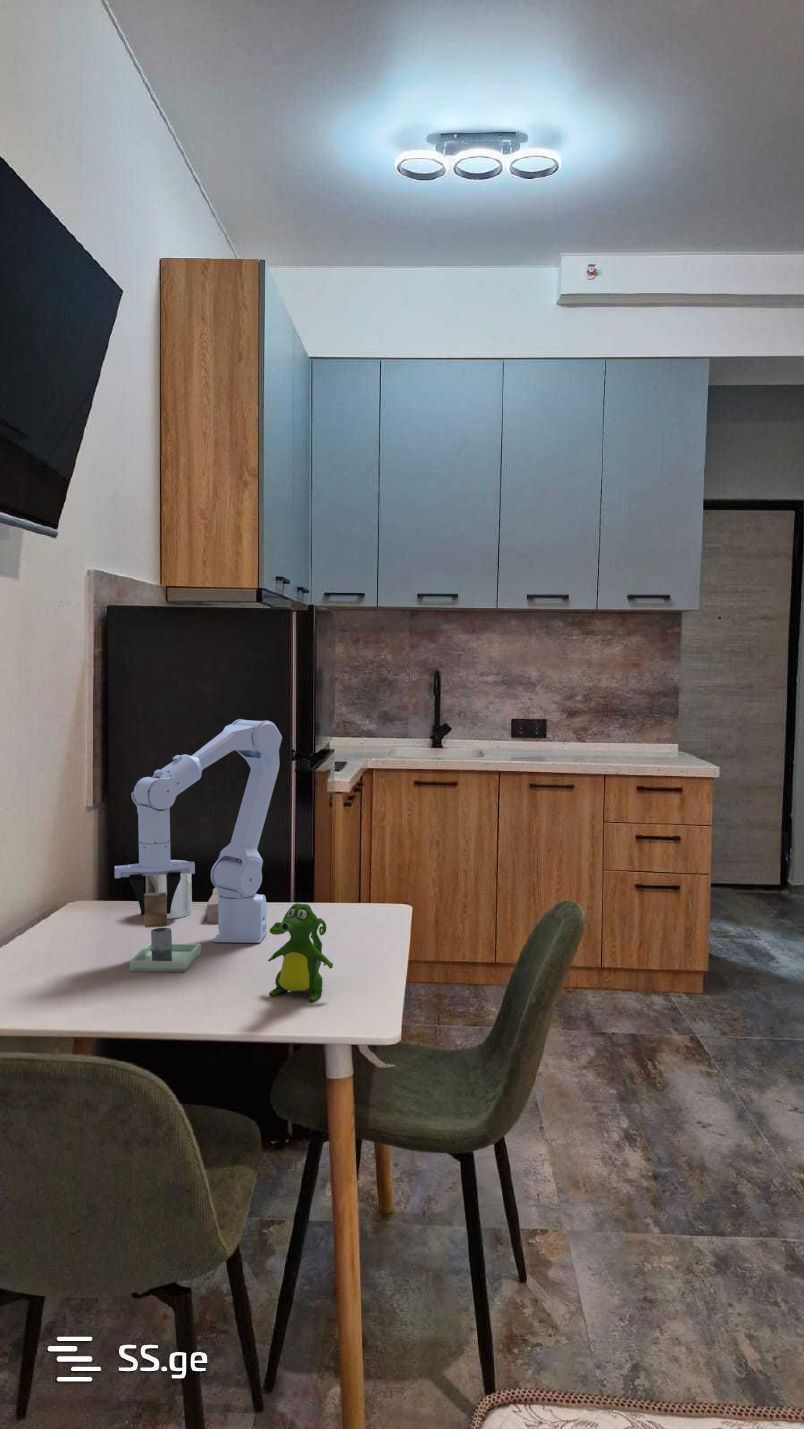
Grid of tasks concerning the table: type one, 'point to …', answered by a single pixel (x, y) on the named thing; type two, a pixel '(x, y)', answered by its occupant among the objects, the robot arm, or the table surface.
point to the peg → (161, 944)
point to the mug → (182, 894)
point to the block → (155, 909)
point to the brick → (213, 907)
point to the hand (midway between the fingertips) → (155, 913)
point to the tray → (180, 961)
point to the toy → (300, 952)
